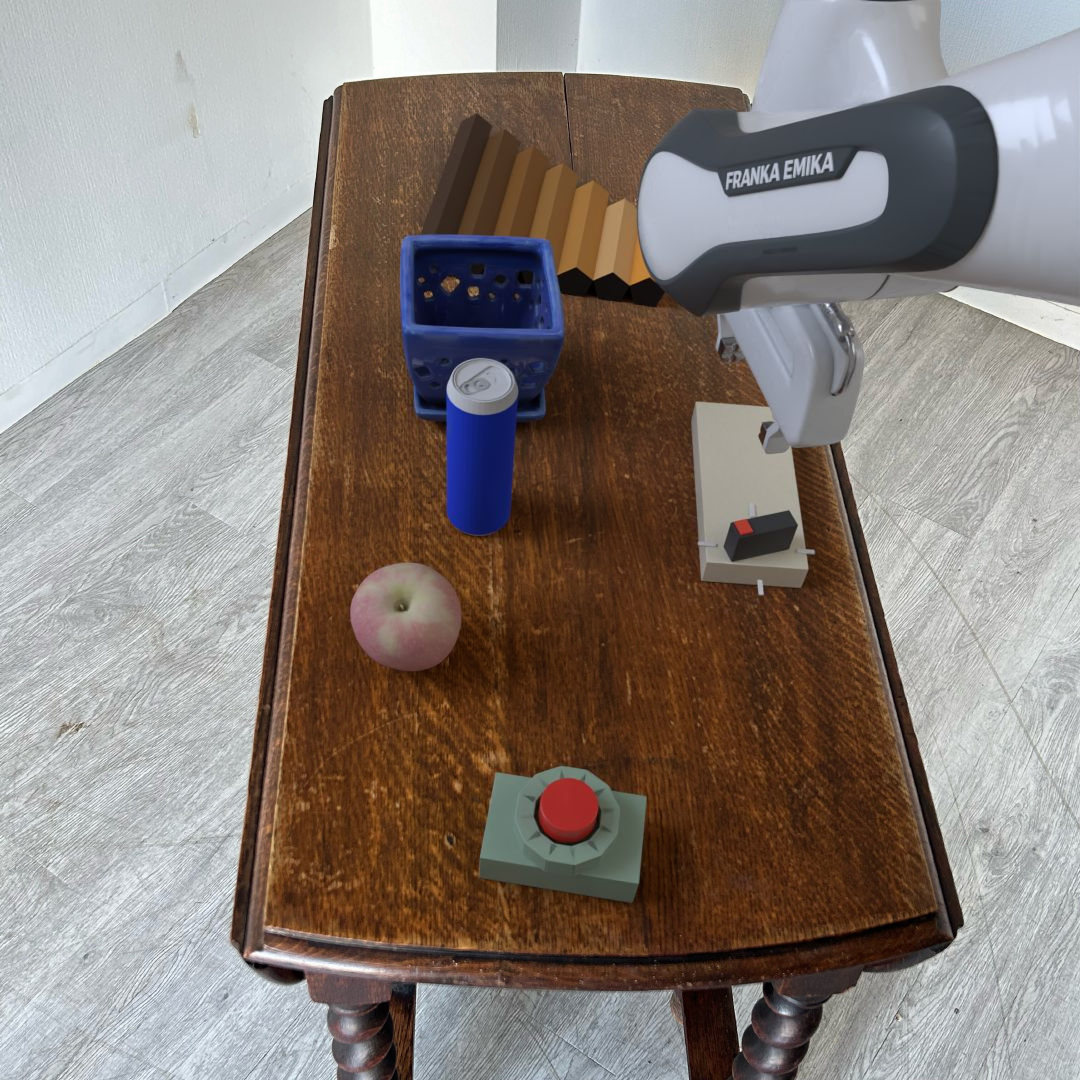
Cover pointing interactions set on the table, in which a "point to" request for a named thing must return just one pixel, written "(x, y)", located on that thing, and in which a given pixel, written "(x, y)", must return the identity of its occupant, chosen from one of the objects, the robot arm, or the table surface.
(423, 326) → the flower pot
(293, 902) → the table surface
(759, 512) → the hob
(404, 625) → the apple
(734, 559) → the dark grey red-tipped block
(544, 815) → the power button
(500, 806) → the control block
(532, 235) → the pan flute
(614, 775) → the table surface
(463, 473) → the beverage can
